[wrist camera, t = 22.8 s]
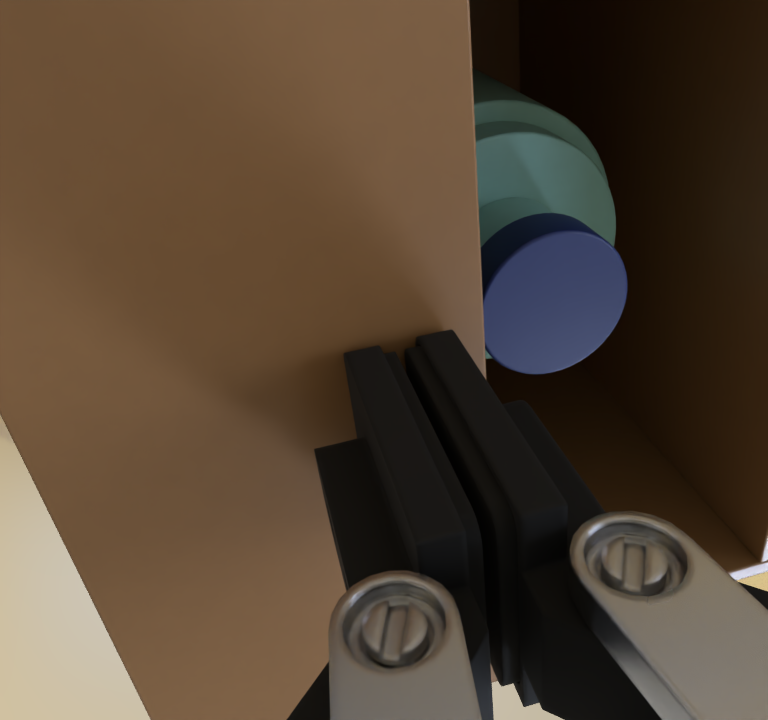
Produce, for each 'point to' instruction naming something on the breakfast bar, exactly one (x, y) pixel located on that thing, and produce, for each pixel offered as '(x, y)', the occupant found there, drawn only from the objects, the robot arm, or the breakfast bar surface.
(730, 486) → the carton
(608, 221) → the bottle
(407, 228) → the flap
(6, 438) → the breakfast bar surface
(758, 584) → the breakfast bar surface
